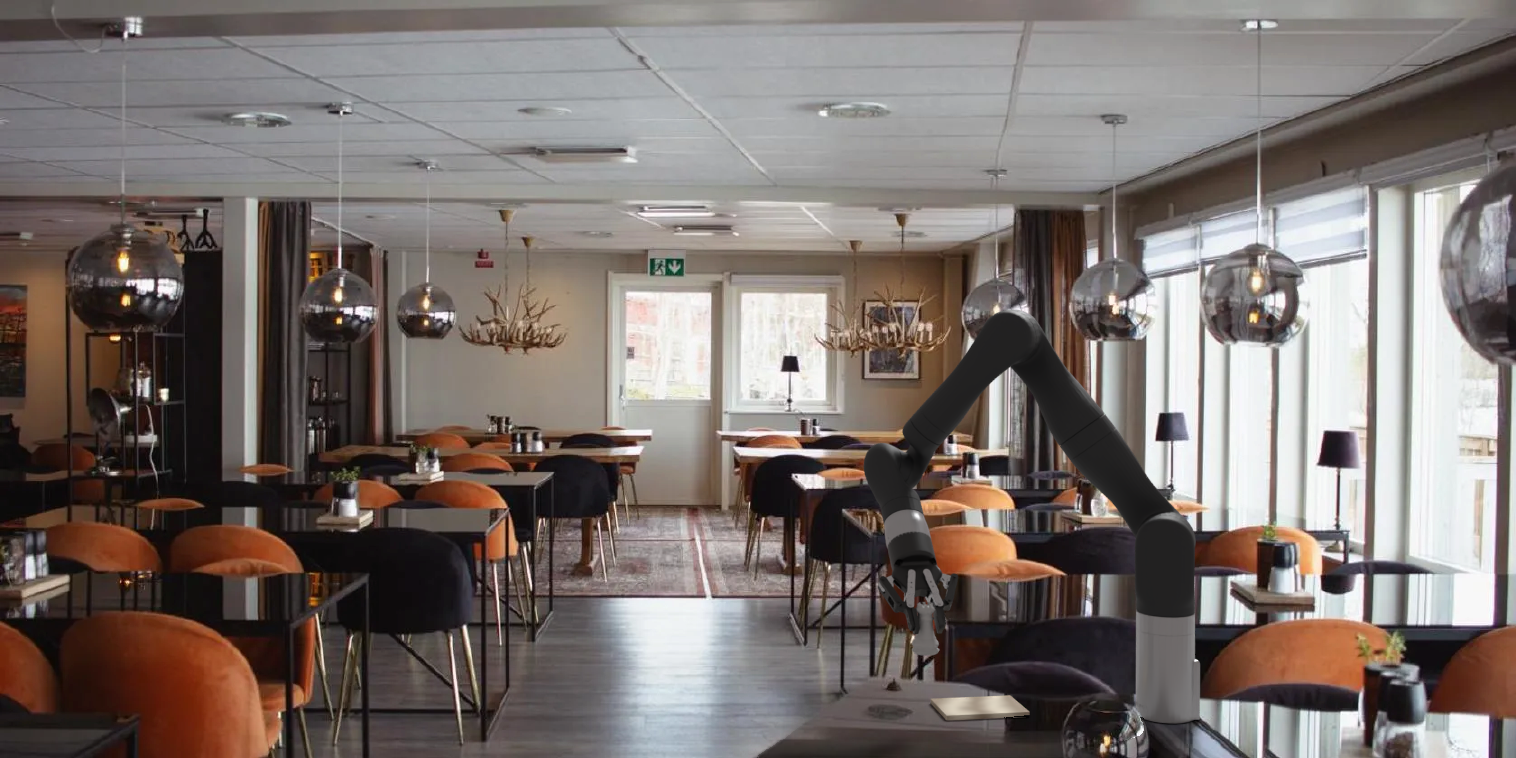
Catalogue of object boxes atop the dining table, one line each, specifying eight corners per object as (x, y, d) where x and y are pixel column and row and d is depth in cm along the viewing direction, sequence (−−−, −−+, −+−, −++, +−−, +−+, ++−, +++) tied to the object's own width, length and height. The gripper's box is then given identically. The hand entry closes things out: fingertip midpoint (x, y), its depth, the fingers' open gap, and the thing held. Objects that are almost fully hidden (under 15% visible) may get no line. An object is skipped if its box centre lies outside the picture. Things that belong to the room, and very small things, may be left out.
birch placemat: (1010, 699, 223) (1010, 695, 223) (1029, 716, 213) (1029, 711, 213) (930, 703, 221) (930, 698, 221) (946, 720, 212) (946, 715, 211)
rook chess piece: (938, 656, 207) (938, 606, 207) (910, 655, 208) (910, 605, 207) (940, 649, 211) (939, 600, 211) (912, 648, 212) (912, 600, 212)
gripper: (871, 531, 215) (889, 620, 204) (954, 528, 217) (976, 616, 206) (864, 557, 221) (882, 645, 209) (945, 554, 223) (967, 641, 211)
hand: (928, 630), depth 207 cm, fingers closed on rook chess piece, 3 cm apart
